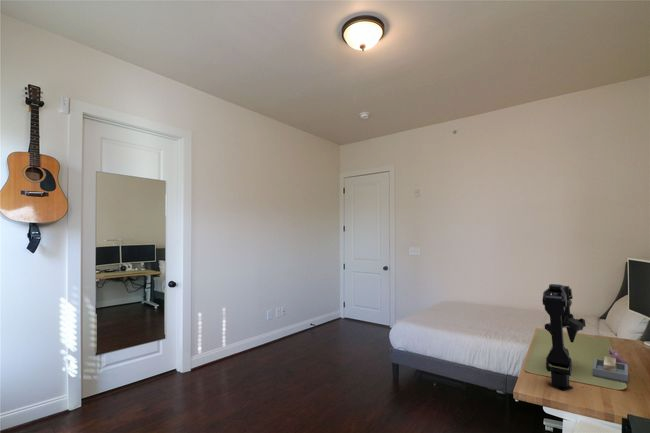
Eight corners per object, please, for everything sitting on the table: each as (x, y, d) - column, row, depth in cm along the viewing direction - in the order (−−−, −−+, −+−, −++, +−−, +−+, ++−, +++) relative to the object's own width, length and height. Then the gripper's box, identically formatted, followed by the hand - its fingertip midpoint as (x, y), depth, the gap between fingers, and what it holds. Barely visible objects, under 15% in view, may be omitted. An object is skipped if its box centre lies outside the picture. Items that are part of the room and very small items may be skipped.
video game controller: (613, 361, 172) (604, 348, 174) (623, 358, 170) (614, 345, 172) (619, 368, 163) (610, 354, 165) (629, 365, 161) (620, 351, 163)
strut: (604, 375, 151) (603, 364, 152) (605, 366, 160) (604, 356, 161) (615, 377, 149) (615, 366, 149) (616, 369, 158) (615, 358, 158)
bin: (628, 383, 145) (627, 375, 145) (592, 376, 153) (592, 368, 153) (628, 371, 156) (627, 364, 156) (595, 365, 164) (594, 358, 164)
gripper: (565, 317, 152) (567, 351, 152) (594, 312, 158) (596, 346, 157) (542, 311, 163) (544, 344, 162) (570, 308, 169) (572, 339, 168)
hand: (565, 343), depth 162 cm, fingers open, 9 cm apart
